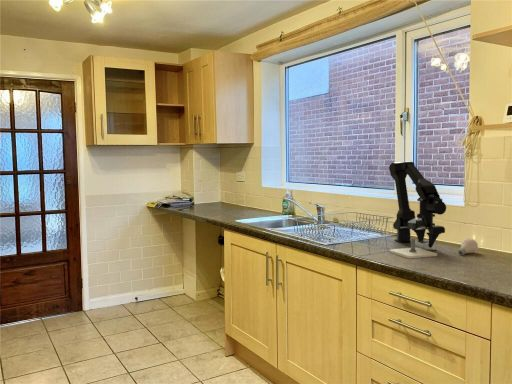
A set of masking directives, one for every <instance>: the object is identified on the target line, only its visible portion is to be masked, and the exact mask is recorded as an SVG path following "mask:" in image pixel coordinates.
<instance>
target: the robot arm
mask: <svg viewBox="0 0 512 384" xmlns="http://www.w3.org/2000/svg"><path fill="white" fill-rule="evenodd" d="M388 170H389V174H390V177H391V178H392V179H393V180H394V184H395V190H396V197H397V203H398V204H397V205H398V210H397V213H396V220H395V221H394V222H393V224H392V225H393V229H394V230H396V238H395V239H394V241H396V242H398V243H411V231H413V232H414V233H415V235H416V238H417V241H424V239H425V234H426V235H427V237H428V241H429V247H432V246H433V244H434V242H435V243H436V240H437V239H438V237H439V236H440V235H442V234H446V227H444V225H443V226H442V225H438V224H437V225H436V223H435V222H434V217H436V215H440V216H441V215H444V214H445V212H446V210H447V204H446V203H445V202H444V201H443V198H441V197H440V194H439V192H438V190H437V188H436V185H435V184H434V183H433V182H431V181H430V180H427V179H426V178H425V177H424V176H423V174H421V171H420V170H419V169H418V168H417V167H416V164H415V162H414V161H411V160H410V161H401V162H398V161H397V162H395V161H394V162H391V163H390V165H389V167H388ZM407 176H408V177H409V178H410V180H411V181H412V182H413V184H414V185H415V191H416V193H417V195H418V196H419V197H418V198H417V202H419V213H417V214H415V213H416V212H415V210H412V209H411V207H410V202H409V195H408V188H407V180H406V179H407ZM426 230H427V231H428V232H426Z"/></svg>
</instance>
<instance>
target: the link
mask: <svg viewBox="0 0 512 384" xmlns="http://www.w3.org/2000/svg"><path fill="white" fill-rule="evenodd" d="M415 247H417V248H420V249H424V250H427V251H434V250H437V242H436V241H435V242H434V244H433V246H432V247H429V239H428V240H423V241H418V240H415Z"/></svg>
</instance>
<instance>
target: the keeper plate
mask: <svg viewBox="0 0 512 384" xmlns="http://www.w3.org/2000/svg"><path fill="white" fill-rule="evenodd" d="M410 240H411V242H410V247H405V248H394V249H389V251H388V252H389V253H392V254H394V255H397V256H400V257H403V258H406V259H419V258H420V259H421V258H429V257H430V258H431V257H437V256H438V253H437V252H433V251H431V250H424V249H420V248H417V247H415V241H416V238H410Z"/></svg>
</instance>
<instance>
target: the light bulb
mask: <svg viewBox="0 0 512 384" xmlns="http://www.w3.org/2000/svg"><path fill="white" fill-rule="evenodd" d="M478 248H479V245H478V242H477V241H476V240H475V239H474V238H470V237H469V238H464V239H463V241H462V242H461V245H460V248H459V249H458V250H457V253H458V254H459V255H460V256H464V255H466V254H473V253H475V252H476V251H477V250H478Z"/></svg>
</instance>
